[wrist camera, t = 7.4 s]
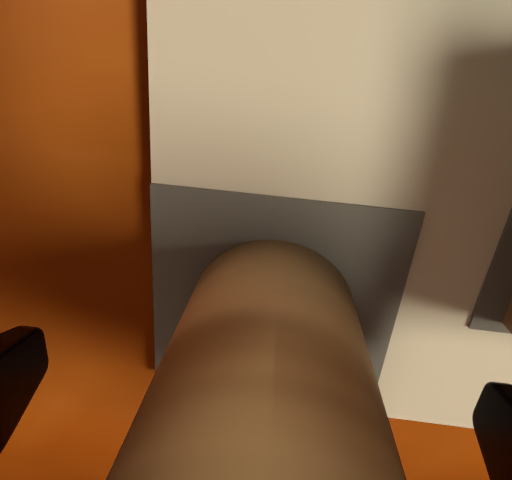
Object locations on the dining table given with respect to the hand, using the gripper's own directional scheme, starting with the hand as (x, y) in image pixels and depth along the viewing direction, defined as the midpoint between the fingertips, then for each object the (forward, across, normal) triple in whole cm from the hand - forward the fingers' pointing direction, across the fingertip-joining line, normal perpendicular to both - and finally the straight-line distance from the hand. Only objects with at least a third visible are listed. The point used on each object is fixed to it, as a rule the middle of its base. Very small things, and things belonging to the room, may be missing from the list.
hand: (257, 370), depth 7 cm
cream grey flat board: (+3, -5, -2) cm, 6 cm away
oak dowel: (+2, 0, 0) cm, 2 cm away
